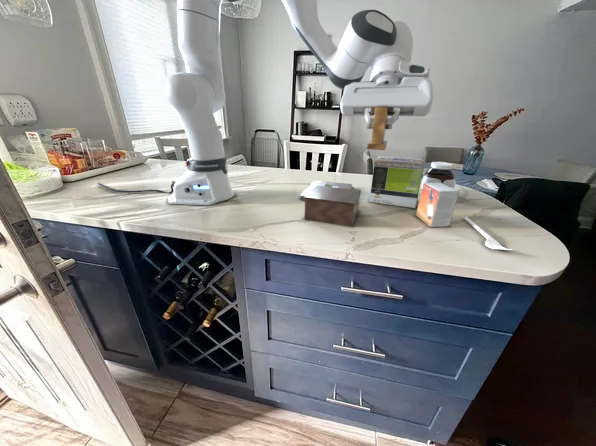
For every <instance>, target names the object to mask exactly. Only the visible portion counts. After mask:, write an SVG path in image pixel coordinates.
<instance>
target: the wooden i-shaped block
mask: <svg viewBox="0 0 596 446" xmlns="http://www.w3.org/2000/svg"><path fill="white" fill-rule="evenodd" d="M388 111H389V108H387V107H378V108H376V109H375V115H374V116H373V118H374V119H373V127H372V129H371V130H372V132H371V140H369V141H368V143H367V144H366V150H373V151H374V150H375V151H386V148H387V146H388V140H385V136H386V130H387V129H385V125H386V119H387V118H389V116H388Z"/></svg>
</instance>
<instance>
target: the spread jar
mask: <svg viewBox="0 0 596 446" xmlns="http://www.w3.org/2000/svg"><path fill="white" fill-rule="evenodd" d="M453 165H454V164H453V163H450V162H446V161H432V162H431V164H430V167H429V168H428V169H426V171H425V172H424V173H423V175H422V180H421V189H422V188H423V184H424V183H443V184H444V185H446V186H449V187H451V188H453V189H455V187H456V185H457V182H456V179H455V173H454V172H453V170H452V169H453Z"/></svg>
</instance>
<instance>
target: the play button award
mask: <svg viewBox="0 0 596 446" xmlns="http://www.w3.org/2000/svg"><path fill="white" fill-rule="evenodd" d="M317 185H319V186H328V187H336V188H345V189H353V183H346V182H345V183H344V182H336V181H335V182H334V181H333V182H332V181H324V180H323V181H321V180H313V181H312V182H311V183H310V185H309V186H308V187H307V188H306V189H304V190H303V192H302V193H301V194H300V200H304V201H305V199H304V197H305V196H306V195H307V194H308V193H309V192H310V191H311V190H312V189H313V188H315V187H316V186H317Z"/></svg>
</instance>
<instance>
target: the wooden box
mask: <svg viewBox="0 0 596 446" xmlns="http://www.w3.org/2000/svg"><path fill="white" fill-rule="evenodd" d="M361 193H362V190H361V189H353V188H352V189H345V188H336V187H328V186H319V185H317V186H316V187H315V188H313V189H312V190H311V191H310V192H309V193H308V194H307V195H306V196H305V197H304V199H305V200H304V220H308V221H313V222H321V223H326V224H333V225H339V226H345V227H353V224H354V222H355V220H356V219H357V218H356V217H357V216H358V213H359V209H360V201H361Z"/></svg>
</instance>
